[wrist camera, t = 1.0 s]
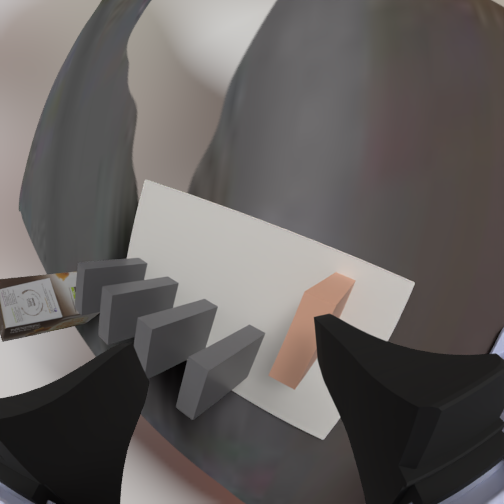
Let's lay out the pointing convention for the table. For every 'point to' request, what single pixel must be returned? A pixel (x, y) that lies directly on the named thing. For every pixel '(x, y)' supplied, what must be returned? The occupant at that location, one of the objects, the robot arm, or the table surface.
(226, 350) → the domino
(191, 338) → the domino
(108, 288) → the domino
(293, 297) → the grey mat
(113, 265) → the domino
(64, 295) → the coffee box
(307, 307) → the domino
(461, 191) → the table surface
